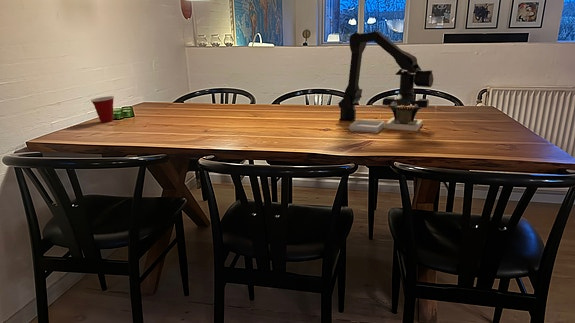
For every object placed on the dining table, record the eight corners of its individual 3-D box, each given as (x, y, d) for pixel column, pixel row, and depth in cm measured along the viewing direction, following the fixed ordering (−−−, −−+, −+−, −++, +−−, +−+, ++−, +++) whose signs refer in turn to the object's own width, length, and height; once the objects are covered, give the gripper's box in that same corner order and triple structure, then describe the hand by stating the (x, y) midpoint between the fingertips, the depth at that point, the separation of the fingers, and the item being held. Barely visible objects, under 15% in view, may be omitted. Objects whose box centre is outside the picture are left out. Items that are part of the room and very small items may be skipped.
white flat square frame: (384, 128, 172) (384, 123, 171) (391, 121, 183) (392, 117, 182) (417, 130, 166) (417, 126, 165) (422, 124, 177) (422, 119, 176)
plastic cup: (95, 120, 202) (91, 96, 198) (118, 118, 205) (114, 95, 201) (93, 124, 192) (88, 100, 188) (116, 122, 195) (112, 98, 192)
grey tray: (349, 130, 169) (349, 124, 168) (357, 124, 179) (358, 119, 178) (377, 133, 164) (377, 127, 163) (384, 126, 174) (384, 121, 173)
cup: (413, 128, 170) (414, 110, 168) (395, 127, 172) (396, 109, 169) (411, 124, 177) (413, 106, 174) (394, 124, 178) (395, 106, 176)
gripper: (380, 87, 166) (378, 123, 171) (426, 89, 158) (423, 127, 163) (386, 84, 175) (384, 118, 180) (430, 85, 167) (427, 121, 172)
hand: (404, 121), depth 174 cm, fingers closed on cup, 6 cm apart
